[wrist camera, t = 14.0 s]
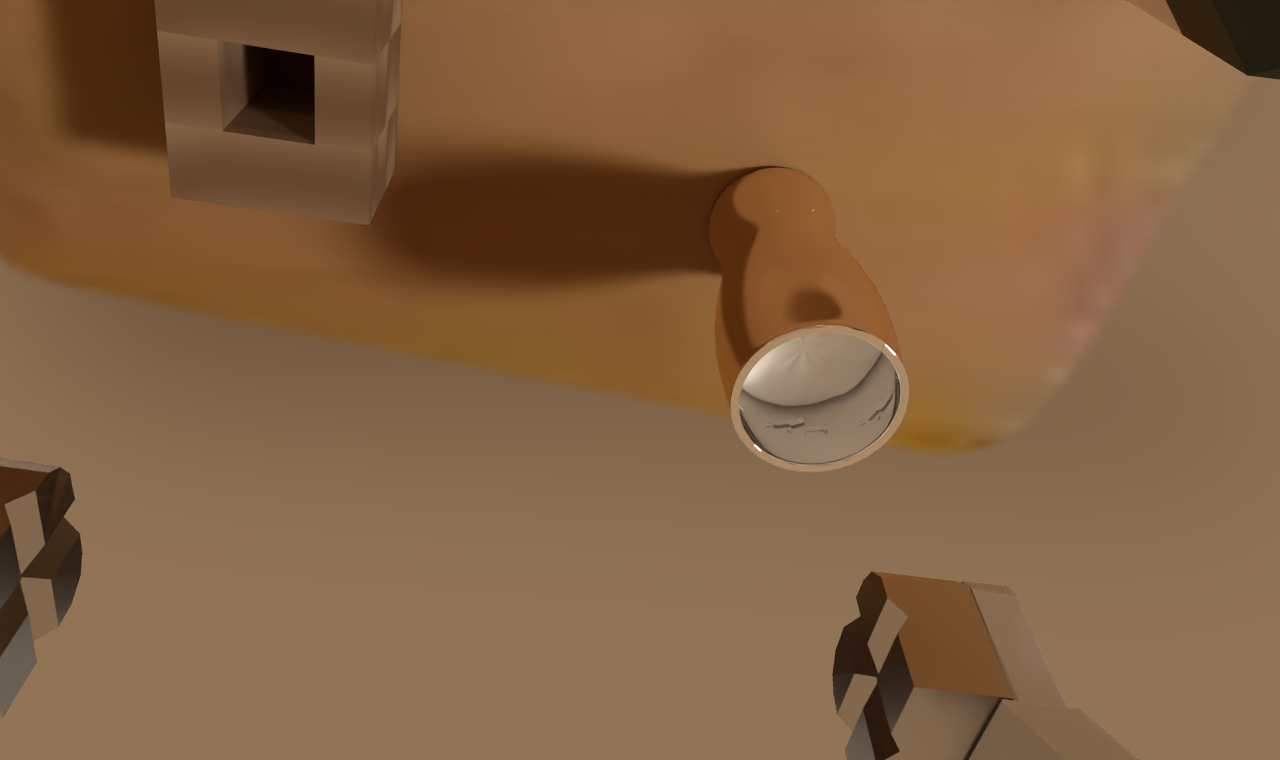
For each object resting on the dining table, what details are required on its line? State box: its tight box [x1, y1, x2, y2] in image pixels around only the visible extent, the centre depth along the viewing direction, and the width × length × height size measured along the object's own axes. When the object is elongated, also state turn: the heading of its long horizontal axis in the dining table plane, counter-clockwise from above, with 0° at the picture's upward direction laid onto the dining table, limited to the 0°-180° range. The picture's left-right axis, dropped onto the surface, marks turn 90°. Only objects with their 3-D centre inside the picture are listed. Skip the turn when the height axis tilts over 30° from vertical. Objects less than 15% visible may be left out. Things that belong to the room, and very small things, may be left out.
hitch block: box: [154, 0, 402, 225], centre depth 43 cm, size 10×8×6 cm
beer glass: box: [709, 167, 910, 472], centre depth 44 cm, size 7×7×15 cm
